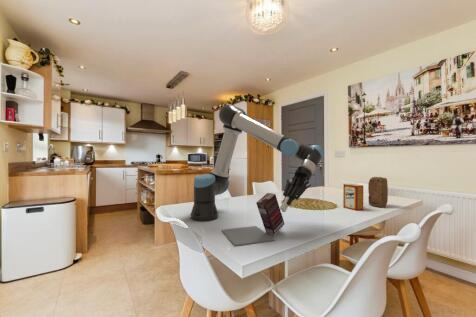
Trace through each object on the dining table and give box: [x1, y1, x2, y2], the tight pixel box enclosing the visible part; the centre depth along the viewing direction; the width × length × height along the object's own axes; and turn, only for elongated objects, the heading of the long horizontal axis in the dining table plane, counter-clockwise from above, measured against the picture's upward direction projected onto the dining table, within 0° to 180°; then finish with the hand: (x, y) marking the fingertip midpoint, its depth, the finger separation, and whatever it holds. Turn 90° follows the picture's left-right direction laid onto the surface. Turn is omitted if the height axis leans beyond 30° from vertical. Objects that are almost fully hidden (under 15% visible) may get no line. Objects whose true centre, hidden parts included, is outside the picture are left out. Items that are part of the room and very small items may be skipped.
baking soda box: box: [342, 183, 364, 212], centre depth 142 cm, size 10×6×16 cm
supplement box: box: [255, 192, 285, 236], centre depth 95 cm, size 9×5×16 cm, turn 133°
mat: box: [221, 225, 276, 247], centre depth 93 cm, size 18×17×1 cm
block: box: [367, 176, 389, 208], centre depth 150 cm, size 11×8×20 cm
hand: (282, 210), depth 96 cm, fingers closed
